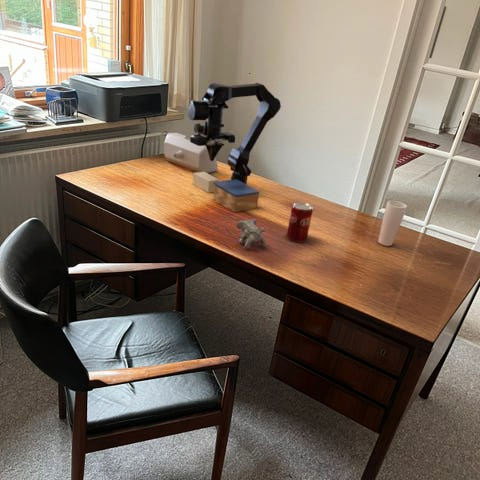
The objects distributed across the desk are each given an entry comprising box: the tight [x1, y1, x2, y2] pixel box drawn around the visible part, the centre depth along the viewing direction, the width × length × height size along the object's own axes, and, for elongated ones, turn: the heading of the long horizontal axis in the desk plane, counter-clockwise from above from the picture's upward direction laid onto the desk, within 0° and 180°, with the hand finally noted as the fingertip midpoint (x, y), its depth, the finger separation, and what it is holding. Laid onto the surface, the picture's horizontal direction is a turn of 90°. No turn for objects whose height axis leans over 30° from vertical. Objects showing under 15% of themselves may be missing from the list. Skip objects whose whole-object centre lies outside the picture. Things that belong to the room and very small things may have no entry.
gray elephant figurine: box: [236, 218, 266, 250], centre depth 158 cm, size 9×12×8 cm
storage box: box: [212, 186, 260, 213], centre depth 188 cm, size 14×12×6 cm
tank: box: [163, 132, 219, 174], centre depth 218 cm, size 25×16×12 cm, turn 52°
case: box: [192, 172, 220, 194], centre depth 200 cm, size 11×5×5 cm, turn 40°
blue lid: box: [214, 179, 260, 197], centre depth 186 cm, size 14×12×1 cm
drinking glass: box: [377, 200, 408, 247], centre depth 169 cm, size 7×7×15 cm
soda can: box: [286, 201, 314, 243], centre depth 165 cm, size 7×7×12 cm
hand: (211, 160), depth 193 cm, fingers closed
